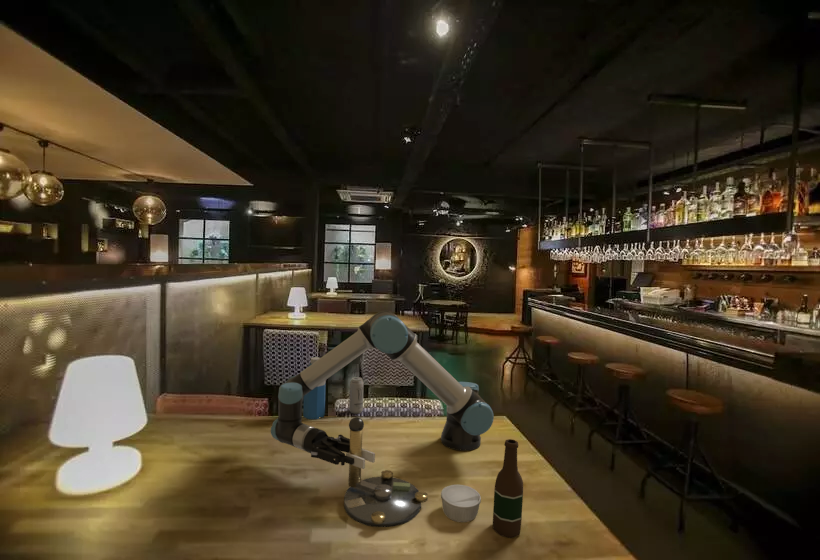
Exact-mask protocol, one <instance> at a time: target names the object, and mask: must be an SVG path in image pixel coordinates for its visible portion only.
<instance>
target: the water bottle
mask: <svg viewBox="0 0 820 560" xmlns="http://www.w3.org/2000/svg"><path fill="white" fill-rule="evenodd" d="M320 358H321V357H316V356H315V357H310V363H309V365H308V366H307V367H309V366H310V365H312V364H313V363H314V362H316V361H317V360H319V359H320ZM326 381H327V379H326V380H325V381H324V382H322V383H321V384H319V385H318V386H317V387H315V388H314V389H313V390H311V391H310V392H309V393H307V394H306V395H305V396H304V397H303V407H302V416H303V417H302V418H305V419H307V420H318V419H320V418H319V417H322V418H324V417H325V414H326V385H327V384H326Z"/></svg>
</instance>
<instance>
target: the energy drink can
mask: <svg viewBox="0 0 820 560" xmlns="http://www.w3.org/2000/svg"><path fill="white" fill-rule="evenodd" d="M364 384H365V383H364V381H363V378H362V377H359V376H358V377H357V376H355V377H352V378H351V380H350V382H349V400H348V401H349V404H348V405H349V409H348V410H349V411H350V413H351V414H354V415H356V414H357V415H359V414H361V413H362V412H363V410H364Z"/></svg>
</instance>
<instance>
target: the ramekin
mask: <svg viewBox="0 0 820 560" xmlns="http://www.w3.org/2000/svg"><path fill="white" fill-rule="evenodd" d="M440 499H441V505H442V511H443V513H444V515H445V516H446V517H447V518H448V519H449V520H450V521H451V520H452V521H453V522H456V523H468V522H471V521H473V520H474V519H475V518H476V517H477V516H478V512H479V509H480V508H479V507H480V504H481V502H482V498H481V495H480V493H479V492H478V491H477V490H476V489H475V488H473V487H471V486H469V485H465V484H451V485H448V486H444V487H443V488H442V490H441V493H440Z"/></svg>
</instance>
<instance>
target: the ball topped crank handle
mask: <svg viewBox="0 0 820 560" xmlns="http://www.w3.org/2000/svg"><path fill="white" fill-rule="evenodd" d="M348 427H349V439H350V451H349V453H350V454H353V455H356V456H358V457H361V458H362V449H363V429H364V427H365V424H364V420H363V419H362V418H361V417H359V416H355V417H353V418H351V419H350V420H349V423H348ZM363 480H364V479H362V468H359V467H356V466H354V465H351V464H348V486H349V487H357V488H359V489H362V490H365V491H368V492H371V493H374V497H375V498H376V499H377V500H380V501H386V500H389V499H390V498H391V497H392V488H391V487H390V486H389V485H385V484H382V485H375V484H372V483H369V482H366V481H363Z"/></svg>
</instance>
